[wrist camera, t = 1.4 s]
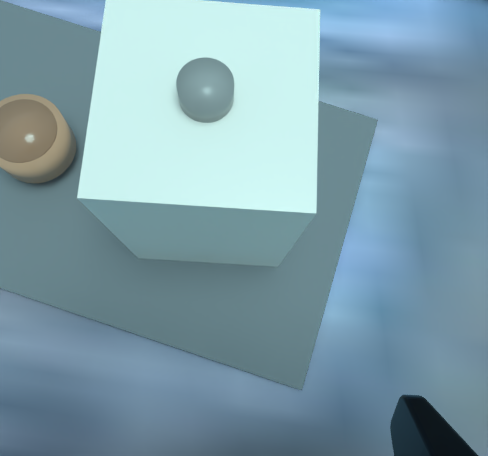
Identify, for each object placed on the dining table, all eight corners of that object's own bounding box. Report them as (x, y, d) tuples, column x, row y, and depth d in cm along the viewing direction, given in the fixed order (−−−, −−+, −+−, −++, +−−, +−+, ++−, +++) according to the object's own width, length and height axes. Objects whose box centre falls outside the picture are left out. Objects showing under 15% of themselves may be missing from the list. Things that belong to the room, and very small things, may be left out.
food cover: (277, 266, 22) (322, 205, 12) (138, 258, 22) (67, 189, 12) (282, 138, 24) (325, -10, 14) (152, 129, 24) (100, -27, 14)
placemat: (-146, 238, 22) (-151, 237, 22) (-15, -2, 25) (-17, -6, 25) (300, 389, 21) (301, 390, 21) (375, 122, 25) (377, 119, 24)
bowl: (17, 199, 22) (-10, 180, 20) (-3, 134, 23) (-30, 107, 21) (90, 174, 23) (74, 152, 20) (69, 111, 24) (50, 82, 21)
